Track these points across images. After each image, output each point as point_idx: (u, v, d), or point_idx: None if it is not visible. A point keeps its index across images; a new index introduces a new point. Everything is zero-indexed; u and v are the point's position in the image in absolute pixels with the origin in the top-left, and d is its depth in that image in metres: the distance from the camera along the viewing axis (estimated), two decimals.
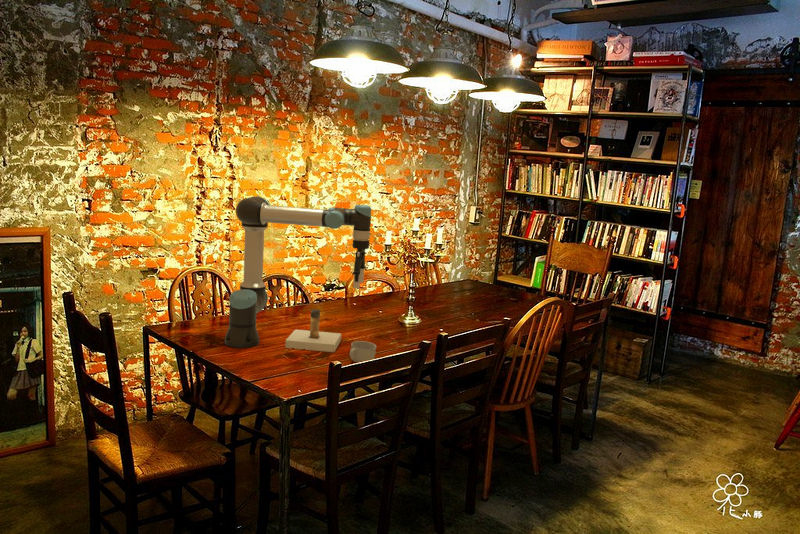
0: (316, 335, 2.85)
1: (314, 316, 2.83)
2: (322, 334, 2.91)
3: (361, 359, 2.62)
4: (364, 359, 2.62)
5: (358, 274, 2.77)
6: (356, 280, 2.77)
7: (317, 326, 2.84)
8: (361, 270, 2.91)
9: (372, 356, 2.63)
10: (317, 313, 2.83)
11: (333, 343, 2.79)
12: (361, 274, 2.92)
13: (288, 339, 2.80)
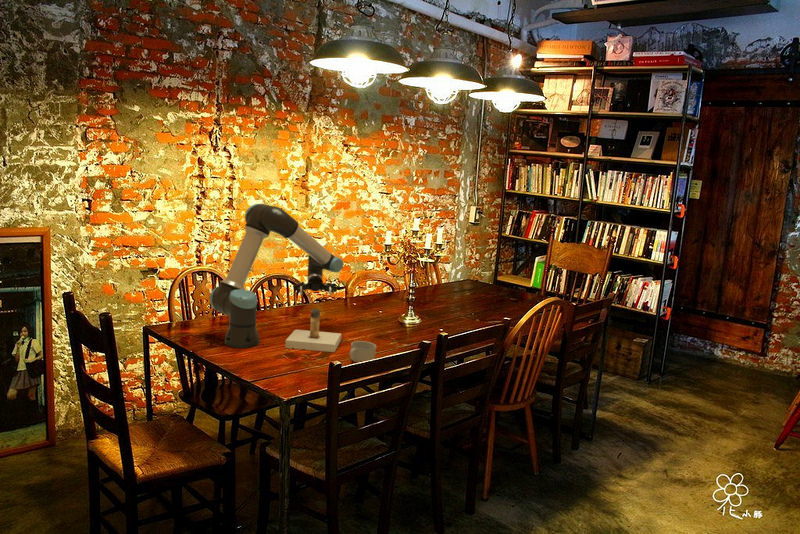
0: (316, 335, 2.85)
1: (314, 316, 2.83)
2: (322, 334, 2.91)
3: (361, 359, 2.62)
4: (364, 359, 2.62)
5: None
6: None
7: (317, 326, 2.84)
8: None
9: (372, 356, 2.63)
10: (317, 313, 2.83)
11: (333, 343, 2.79)
12: None
13: (288, 339, 2.80)
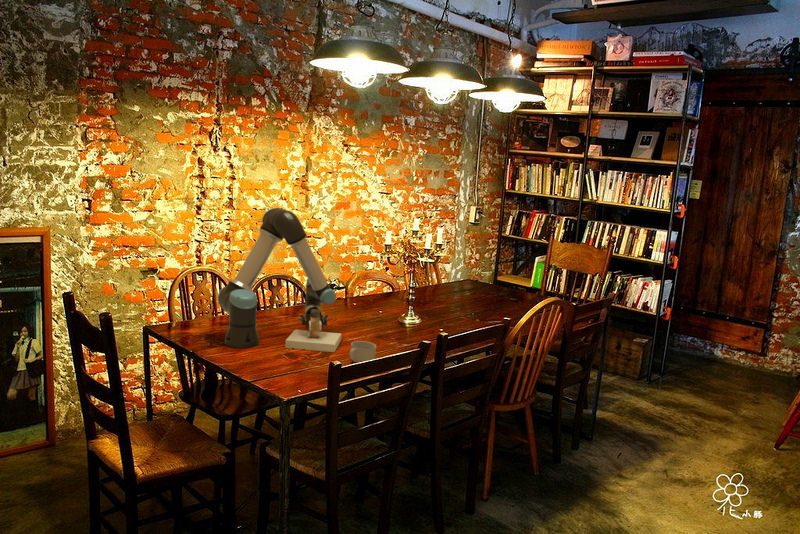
0: (316, 335, 2.85)
1: (314, 316, 2.83)
2: (322, 334, 2.91)
3: (361, 359, 2.62)
4: (364, 359, 2.62)
5: None
6: (323, 325, 2.85)
7: (317, 326, 2.84)
8: None
9: (372, 356, 2.63)
10: (317, 313, 2.83)
11: (333, 343, 2.79)
12: None
13: (288, 339, 2.80)
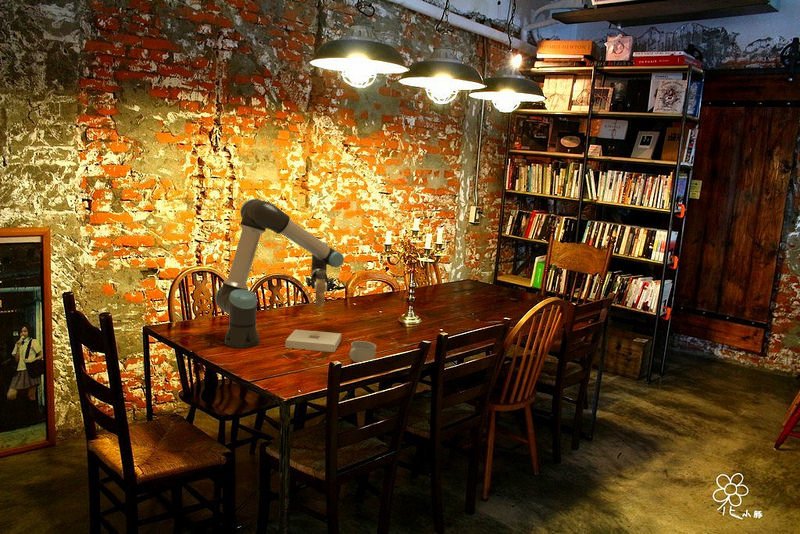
0: (321, 296, 2.86)
1: (319, 277, 2.83)
2: (322, 334, 2.91)
3: (361, 359, 2.62)
4: (364, 359, 2.62)
5: None
6: (329, 286, 2.85)
7: (322, 287, 2.85)
8: None
9: (372, 356, 2.63)
10: (322, 274, 2.84)
11: (333, 343, 2.79)
12: None
13: (288, 339, 2.80)
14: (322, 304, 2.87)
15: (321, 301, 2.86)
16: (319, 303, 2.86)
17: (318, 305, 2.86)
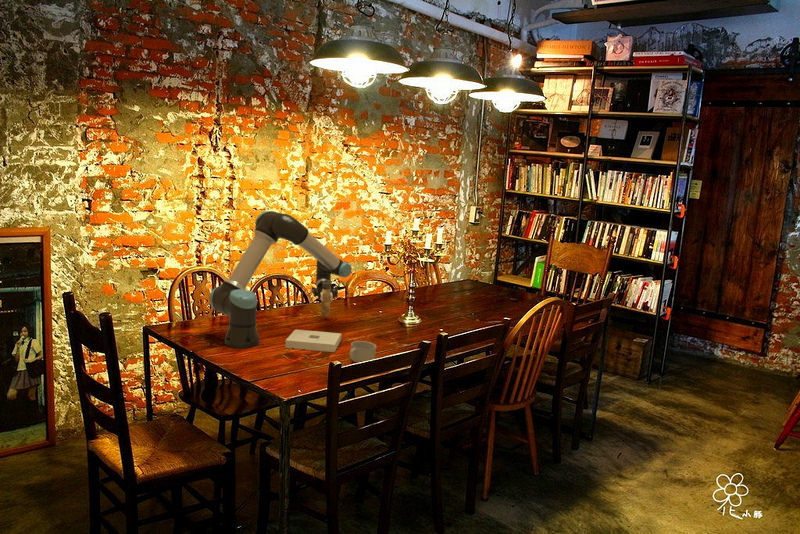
0: (327, 306, 3.00)
1: (325, 288, 2.98)
2: (322, 334, 2.91)
3: (361, 359, 2.62)
4: (364, 359, 2.62)
5: None
6: None
7: (328, 297, 2.99)
8: None
9: (372, 356, 2.63)
10: (328, 285, 2.98)
11: (333, 343, 2.79)
12: None
13: (288, 339, 2.80)
14: (328, 313, 3.01)
15: (327, 310, 3.00)
16: (324, 312, 3.00)
17: (324, 314, 3.01)
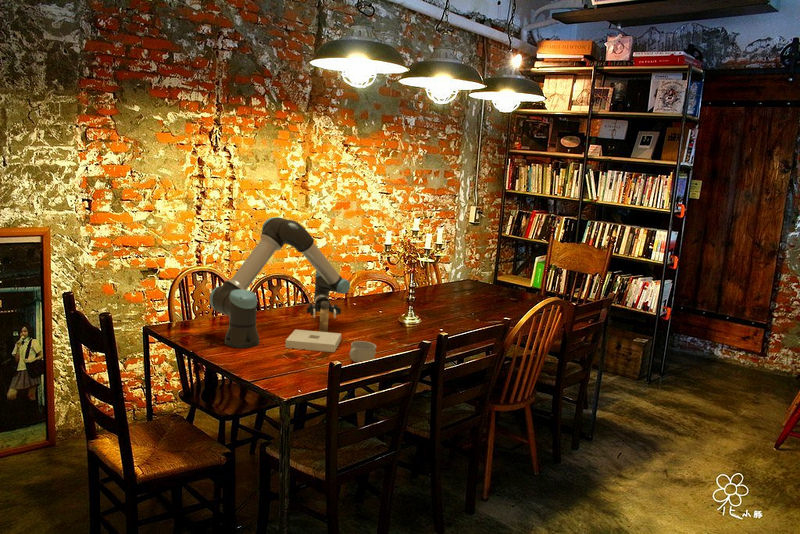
0: (325, 325, 3.01)
1: (324, 308, 2.99)
2: (322, 334, 2.91)
3: (361, 359, 2.62)
4: (364, 359, 2.62)
5: None
6: (337, 313, 3.02)
7: (326, 317, 3.00)
8: None
9: (372, 356, 2.63)
10: (326, 305, 2.99)
11: (333, 343, 2.79)
12: None
13: (288, 339, 2.80)
14: None
15: (325, 330, 3.02)
16: None
17: None
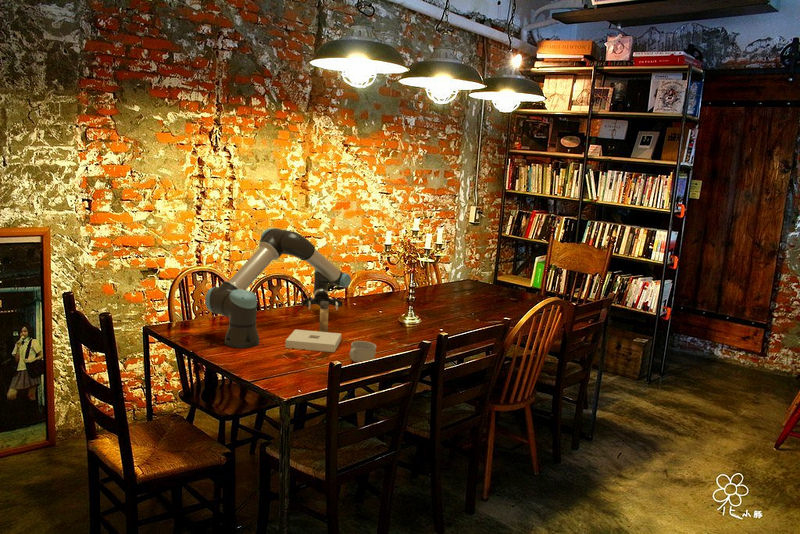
0: (325, 325, 3.01)
1: (323, 307, 2.99)
2: (322, 334, 2.91)
3: (361, 359, 2.61)
4: (364, 359, 2.62)
5: None
6: (339, 305, 3.16)
7: (326, 317, 3.01)
8: None
9: (372, 356, 2.63)
10: (326, 304, 3.00)
11: (333, 343, 2.79)
12: None
13: (288, 339, 2.80)
14: None
15: (325, 330, 3.02)
16: None
17: None
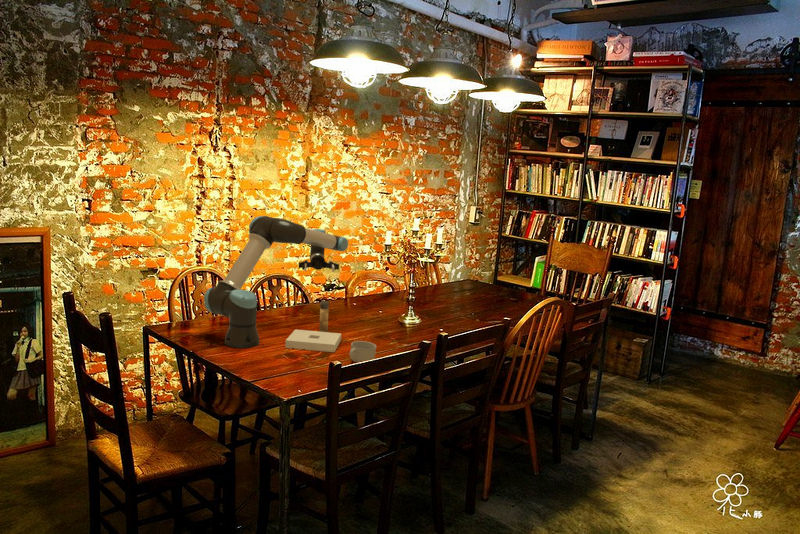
0: (325, 325, 3.01)
1: (323, 307, 3.00)
2: (322, 334, 2.91)
3: (361, 359, 2.62)
4: (364, 359, 2.62)
5: None
6: (335, 268, 3.14)
7: (326, 317, 3.01)
8: None
9: (372, 356, 2.63)
10: (326, 304, 3.00)
11: (333, 343, 2.79)
12: None
13: (288, 339, 2.80)
14: None
15: (325, 330, 3.02)
16: None
17: None
